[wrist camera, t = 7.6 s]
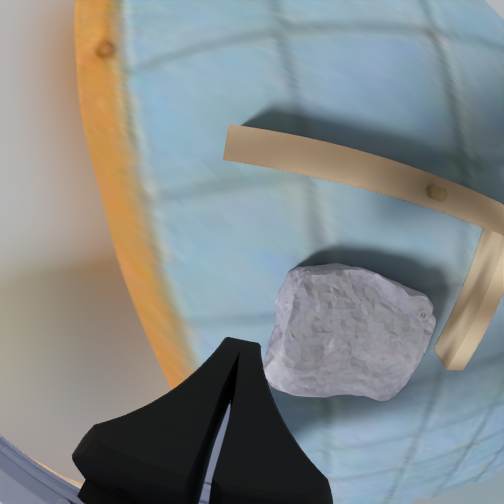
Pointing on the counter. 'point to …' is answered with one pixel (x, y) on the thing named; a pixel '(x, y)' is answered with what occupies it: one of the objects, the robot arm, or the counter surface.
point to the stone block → (346, 333)
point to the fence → (408, 189)
